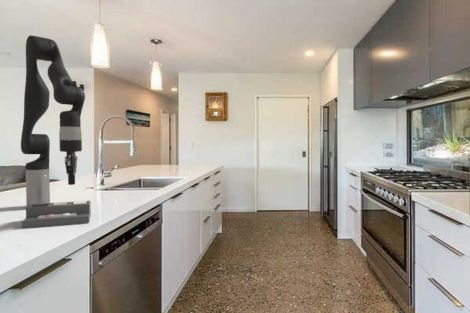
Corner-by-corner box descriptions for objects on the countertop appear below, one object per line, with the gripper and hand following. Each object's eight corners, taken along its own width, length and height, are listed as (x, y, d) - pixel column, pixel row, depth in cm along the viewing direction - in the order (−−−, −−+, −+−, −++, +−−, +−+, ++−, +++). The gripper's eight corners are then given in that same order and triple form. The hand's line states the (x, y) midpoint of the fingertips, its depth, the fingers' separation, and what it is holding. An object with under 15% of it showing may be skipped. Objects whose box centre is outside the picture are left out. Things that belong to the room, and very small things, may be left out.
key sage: (54, 208, 123) (54, 202, 123) (67, 207, 125) (67, 202, 125) (52, 210, 119) (52, 205, 119) (66, 209, 120) (66, 204, 120)
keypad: (31, 219, 123) (31, 203, 123) (90, 214, 130) (90, 200, 130) (22, 228, 110) (22, 210, 110) (88, 223, 117) (88, 206, 117)
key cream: (74, 206, 126) (73, 201, 125) (86, 206, 127) (86, 201, 127) (72, 209, 121) (72, 203, 121) (86, 208, 123) (86, 203, 123)
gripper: (62, 139, 127) (63, 183, 127) (56, 138, 114) (57, 187, 115) (83, 139, 129) (84, 182, 130) (79, 138, 117) (80, 186, 117)
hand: (71, 184), depth 122 cm, fingers closed
